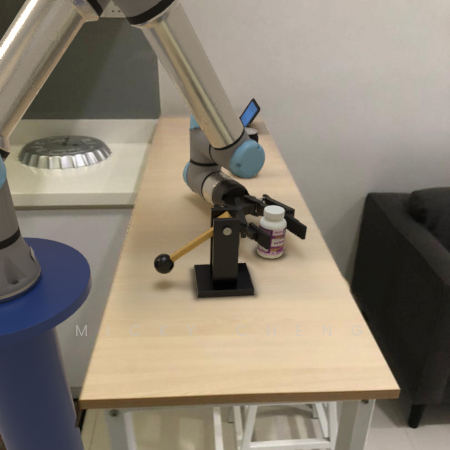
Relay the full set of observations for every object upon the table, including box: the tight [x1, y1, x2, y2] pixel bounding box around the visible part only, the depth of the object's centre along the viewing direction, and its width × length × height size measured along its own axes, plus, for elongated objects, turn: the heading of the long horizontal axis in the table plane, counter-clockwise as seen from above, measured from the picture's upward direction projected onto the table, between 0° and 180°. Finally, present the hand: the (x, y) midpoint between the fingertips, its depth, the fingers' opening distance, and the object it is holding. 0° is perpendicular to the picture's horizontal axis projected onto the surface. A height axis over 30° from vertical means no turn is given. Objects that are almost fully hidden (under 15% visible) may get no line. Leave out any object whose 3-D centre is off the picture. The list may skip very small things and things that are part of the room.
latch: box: [153, 211, 232, 275], centre depth 80 cm, size 16×4×4 cm
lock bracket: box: [193, 207, 255, 298], centre depth 82 cm, size 10×9×14 cm
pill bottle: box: [256, 205, 287, 260], centre depth 92 cm, size 5×5×10 cm
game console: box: [238, 97, 261, 128], centre depth 164 cm, size 16×14×9 cm
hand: (287, 237), depth 88 cm, fingers open, 8 cm apart
